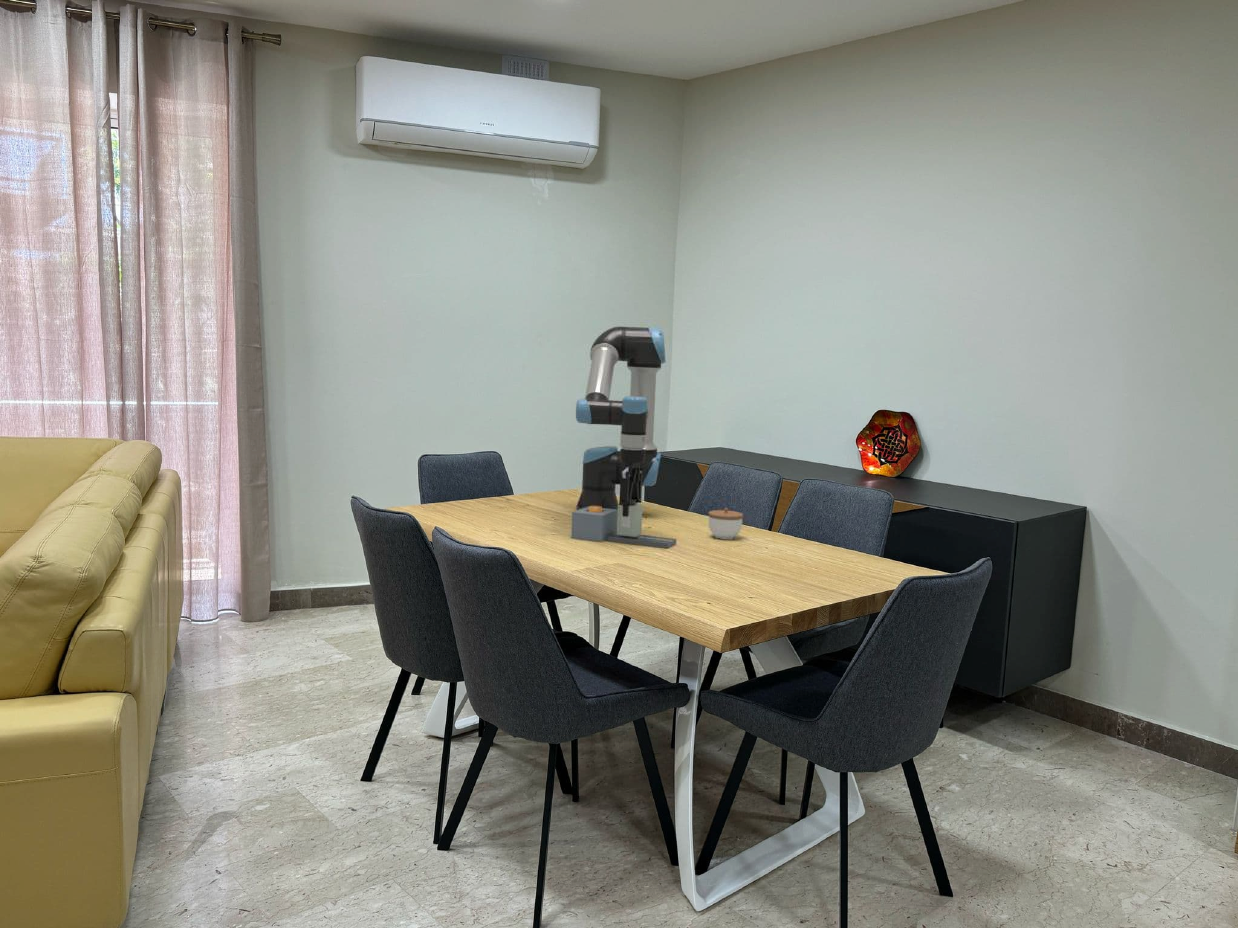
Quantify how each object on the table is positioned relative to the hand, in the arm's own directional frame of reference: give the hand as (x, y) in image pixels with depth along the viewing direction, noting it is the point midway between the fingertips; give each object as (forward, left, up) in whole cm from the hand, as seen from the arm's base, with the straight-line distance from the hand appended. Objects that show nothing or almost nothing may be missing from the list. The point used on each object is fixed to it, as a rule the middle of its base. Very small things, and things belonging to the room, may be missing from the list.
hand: (629, 525), depth 282 cm
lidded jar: (+24, +22, -5) cm, 33 cm away
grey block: (-11, 0, -5) cm, 12 cm away
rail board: (+4, 0, -5) cm, 6 cm away
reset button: (-11, 0, -2) cm, 11 cm away
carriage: (0, 0, -3) cm, 3 cm away
